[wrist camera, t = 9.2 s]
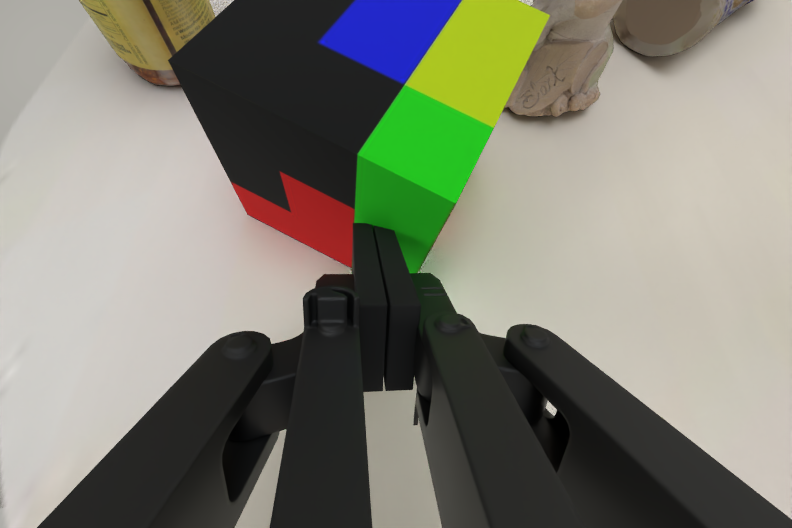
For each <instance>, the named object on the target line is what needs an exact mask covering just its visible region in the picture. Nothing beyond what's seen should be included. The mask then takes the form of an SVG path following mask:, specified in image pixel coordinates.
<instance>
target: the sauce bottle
mask: <svg viewBox="0 0 792 528" xmlns="http://www.w3.org/2000/svg"><path fill="white" fill-rule="evenodd" d="M79 1H80V3H81V4H82V5H83V7H84V8H85V10H86V11H87V13H88V14H89V15H90V17H91V18H92V20H93V21H94V23H95V24H96V25H97V27H98V28H99V30H100V31H101V33H102V34H103V35H104V37H105V38H106V40H107V41H108V42H109V44H110V45H111V47H112V48H113V49H114V51H115V52H116V53H117V55H118V56H119V57H120V58H122V59H123V60H124V61H125V62H126V63H127V64H128V65H129V67H130V68H131V69H132V70H134V71H135V73H137V74H138V75H139V76H141V77H142V78H144V79H145V80H147V81H148V82H151V83H153V84H155V85H165V86H174V85H180V83H179V81H178V79H177V77H176V75H175V73H174V71H173V69H172V67H171V65H170V63H169V61H168V60H169V59H170V58H171V57H172V56H173V55H174V54H175V53H176V52H178V51H179V50H180V49H181V48H182V47H183V46H184V45H185V44H186V43H188V42H189V41H190V40H191V39H192V38H193V37H194V36H195V35H196V34H198V33H199V32H200V31H201V30H202V29H203V28H204V27H205V26H206V25H208V24H209V23H210V22H211V21H212V20H213V19H214V18H215V15H214V12H213V9H212V7H211V4H210V2H209V0H79Z"/></svg>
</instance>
